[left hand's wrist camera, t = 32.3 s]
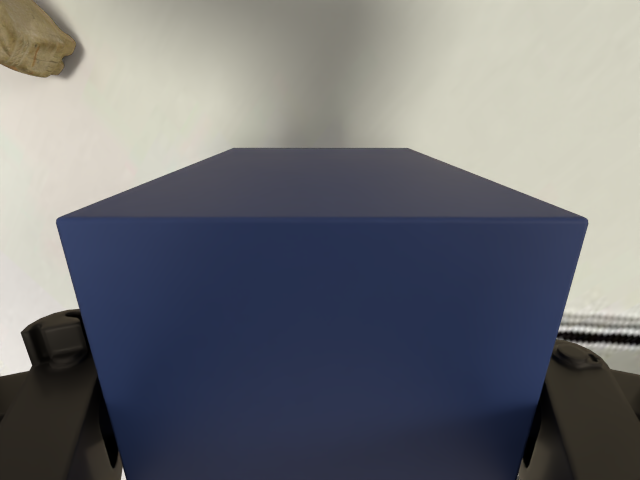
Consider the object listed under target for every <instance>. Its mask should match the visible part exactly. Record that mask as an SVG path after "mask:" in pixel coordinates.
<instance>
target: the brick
mask: <svg viewBox="0 0 640 480" xmlns="http://www.w3.org/2000/svg"><path fill="white" fill-rule="evenodd" d="M56 225H57V228H58V232H59V236H60V239H61V243H62V247H63V250H64V254H65V258H66V261H67V265H68V268H69V272H70V276H71V279H72V283H73V287H74V290H75V294H76V298H77V301H78V305H79V309H80V312H81V316H82V319H83V323H84V327H85V330H86V334H87V338H88V341H89V345H90V349H91V352H92V356H93V360H94V363H95V367H96V370H97V374H98V378H99V381H100V385H101V389H102V392H103V396H104V400H105V403H106V407H107V411H108V414H109V418H110V422H111V425H112V429H113V432H114V436H115V440H116V443H117V447H118V451H119V454H120V458H121V462H122V465H123V469H124V473H125V476H126V480H517V476H518V473H519V469H520V465H521V462H522V458H523V455H524V451H525V448H526V444H527V440H528V437H529V433H530V430H531V426H532V423H533V419H534V415H535V412H536V408H537V405H538V401H539V398H540V394H541V391H542V387H543V383H544V380H545V376H546V373H547V369H548V366H549V362H550V358H551V355H552V351H553V348H554V344H555V341H556V337H557V333H558V330H559V326H560V323H561V319H562V316H563V312H564V308H565V305H566V301H567V298H568V294H569V291H570V287H571V283H572V280H573V276H574V273H575V269H576V266H577V262H578V259H579V255H580V251H581V248H582V244H583V241H584V237H585V234H586V230H587V226H588V220H587V219H586V218H585V217H582V216H580V215H577V214H575V213H572V212H569V211H567V210H564V209H562V208H559V207H557V206H554V205H552V204H549V203H547V202H544V201H541V200H539V199H536V198H534V197H531V196H529V195H526V194H524V193H521V192H518V191H516V190H513V189H511V188H508V187H506V186H503V185H501V184H498V183H496V182H493V181H490V180H488V179H485V178H483V177H480V176H478V175H475V174H473V173H470V172H467V171H465V170H462V169H460V168H457V167H455V166H452V165H450V164H447V163H445V162H442V161H439V160H437V159H434V158H432V157H429V156H427V155H424V154H422V153H419V152H416V151H414V150H411V149H409V148H232V149H230V150H227V151H225V152H222V153H220V154H217V155H215V156H212V157H210V158H207V159H205V160H202V161H200V162H197V163H195V164H192V165H190V166H187V167H185V168H182V169H180V170H177V171H175V172H172V173H170V174H167V175H164V176H162V177H159V178H157V179H154V180H152V181H149V182H147V183H144V184H142V185H139V186H137V187H134V188H132V189H129V190H127V191H124V192H122V193H119V194H117V195H114V196H112V197H109V198H107V199H104V200H102V201H99V202H97V203H94V204H91V205H89V206H86V207H84V208H81V209H79V210H76V211H74V212H71V213H69V214H66V215H64V216H61V217H59V218H58V219H57V220H56Z"/></svg>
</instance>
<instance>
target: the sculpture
mask: <svg viewBox="0 0 640 480" xmlns="http://www.w3.org/2000/svg"><path fill="white" fill-rule="evenodd" d="M75 46H76V42H75V41H74V40H73V39H72V38H71V37H70V36H69V35H67V34H65V33H64V32H62V31H61V30H60V29H59V28H58V27H57V25H56V24H55V23H54V21H53V20H52V19H51V18H50V17H49V16H48V15H47V14H46V13H45V12H44V11H43V10H42V9H41V8H40V7H39V6H38V5H37V4H36V3H35V2H34V1H33V0H0V64H2V65H4V66H6V67H8V68H10V69H12V70H15V71H18V72H21V73H24V74H28V75H32V76H37V77H48V76H50V75H58V74H59V73H60V72H61V71H62V69H63V68H64V63H63V61H62V58H63V57H64V56H68V55H71V54H72V53H73V51H74V49H75Z"/></svg>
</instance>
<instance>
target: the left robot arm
mask: <svg viewBox="0 0 640 480" xmlns="http://www.w3.org/2000/svg"><path fill="white" fill-rule="evenodd" d="M21 335H22V338H23V341H24V343H25V346H26V349H27V352H28V355H29V358H30V360H31V363H32V367H31V369H30V371H27V372H21V373H16V374H11V375H6V376H1V377H0V480H121V475H122V468H123V465H122V462H121V458H120V454H119V451H118V447H117V443H116V440H115V436H114V432H113V429H112V425H111V422H110V418H109V414H108V411H107V407H106V403H105V400H104V396H103V392H102V389H101V385H100V381H99V378H98V374H97V370H96V367H95V363H94V360H93V356H92V352H91V349H90V345H89V341H88V338H87V334H86V330H85V327H84V323H83V319H82V316H81V312H80V309H73V310H66V311H62V312H57V313H53V314H51V315H48V316H46V317H43V318H40V319H39V320H37V321H35V322H33V323H32V324H30V325H28V326H27V327H26V328H25V329H24V330H23V331H22V332H21ZM518 474H519V480H640V375H637V374H632V373H627V372H622V371H617V370H612V369H610V368H609V367H608V365H607V364H606V363H605V362H604V360H603V359H602V358H601V357H600V356H598V355H597V354H595V353H594V352H592V351H591V350H589V349H587V348H585V347H582V346H580V345H578V344H575V343H572V342H568V341H564V340H556V341H555V344H554V348H553V351H552V355H551V358H550V362H549V366H548V369H547V373H546V376H545V380H544V383H543V387H542V391H541V394H540V398H539V401H538V405H537V408H536V412H535V415H534V419H533V423H532V426H531V430H530V433H529V437H528V440H527V444H526V448H525V451H524V455H523V458H522V462H521V465H520V469H519V473H518Z"/></svg>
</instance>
